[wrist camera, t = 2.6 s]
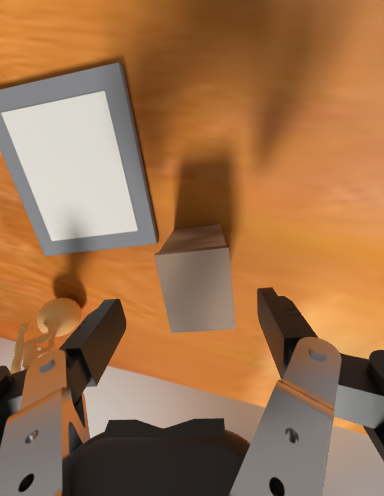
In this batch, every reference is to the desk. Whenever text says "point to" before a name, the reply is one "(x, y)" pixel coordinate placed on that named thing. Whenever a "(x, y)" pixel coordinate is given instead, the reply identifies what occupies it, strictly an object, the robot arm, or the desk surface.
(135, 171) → the mat
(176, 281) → the walnut box
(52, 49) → the desk surface
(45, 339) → the figurine
